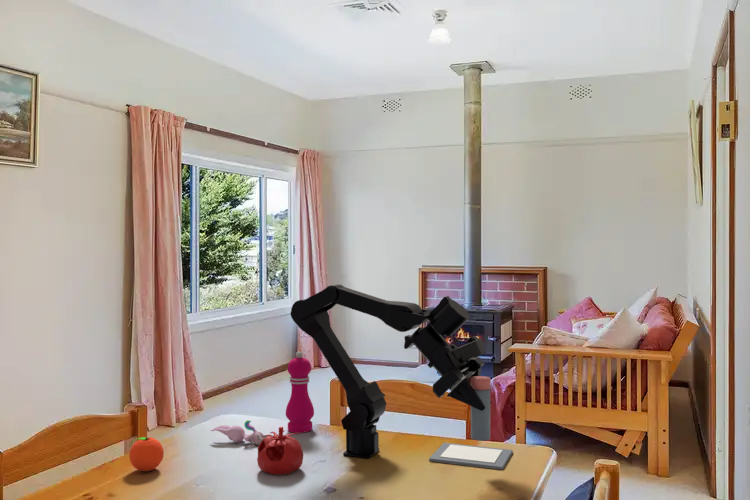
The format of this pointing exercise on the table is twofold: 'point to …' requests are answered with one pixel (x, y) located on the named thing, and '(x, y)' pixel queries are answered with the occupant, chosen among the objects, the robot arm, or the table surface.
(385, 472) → the table surface
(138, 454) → the clementine
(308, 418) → the pepper mill
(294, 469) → the red round fruit
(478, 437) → the cylinder
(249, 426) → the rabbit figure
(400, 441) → the table surface
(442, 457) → the writing board
